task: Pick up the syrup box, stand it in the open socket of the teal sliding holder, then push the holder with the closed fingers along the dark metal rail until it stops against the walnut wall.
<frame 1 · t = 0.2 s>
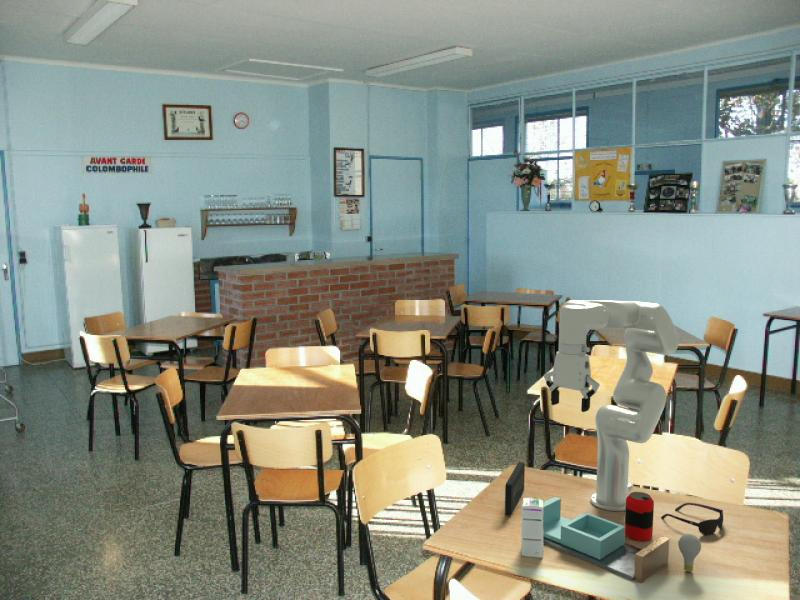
hand: (569, 407, 206), 36 cm above the table, tool pointing down, fingers open, 9 cm apart
syrup box: (532, 552, 197), on the table
soda can: (638, 536, 207), on the table
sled: (577, 525, 203), point 5 cm above the table, slide at 0.0 cm
nameplate: (514, 503, 230), on the table
sunglasses: (692, 524, 215), on the table
light bulb: (688, 572, 187), on the table
rail: (592, 547, 200), on the table
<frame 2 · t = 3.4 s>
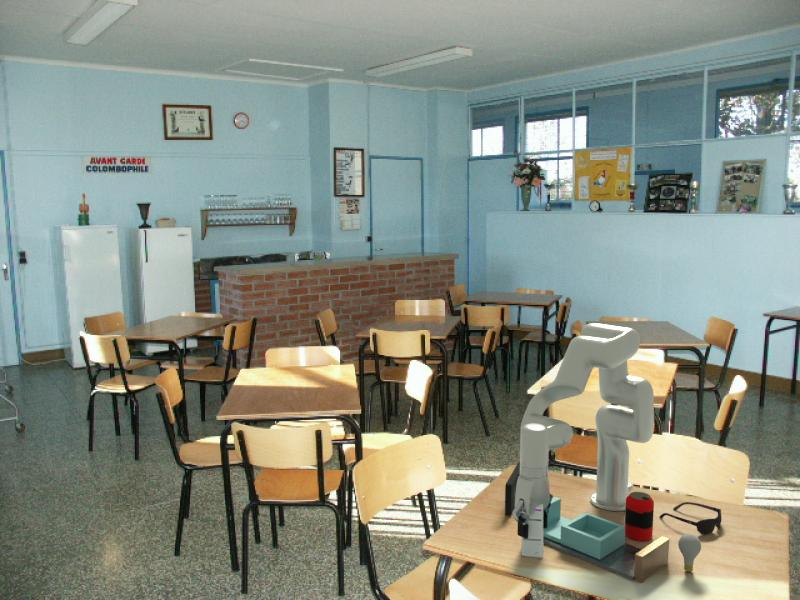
hand: (532, 531, 197), 6 cm above the table, tool pointing down, fingers closed on syrup box, 7 cm apart
syrup box: (532, 552, 197), on the table, touching gripper
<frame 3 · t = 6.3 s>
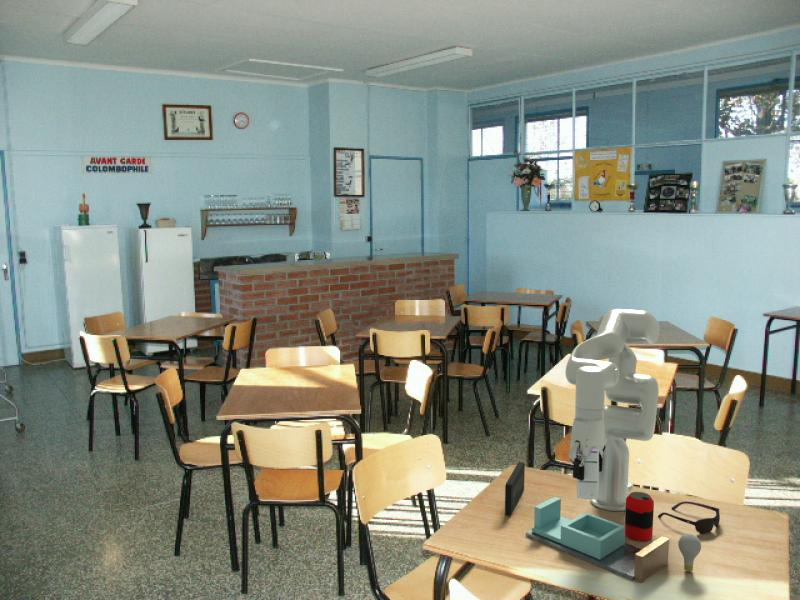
hand: (587, 474, 197), 21 cm above the table, tool pointing down, fingers closed on syrup box, 7 cm apart
syrup box: (587, 495, 198), point 15 cm above the table, touching gripper
when the fingers open (9 cm above the table, at t = 9.5 s): syrup box moves 1 cm, resting on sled.
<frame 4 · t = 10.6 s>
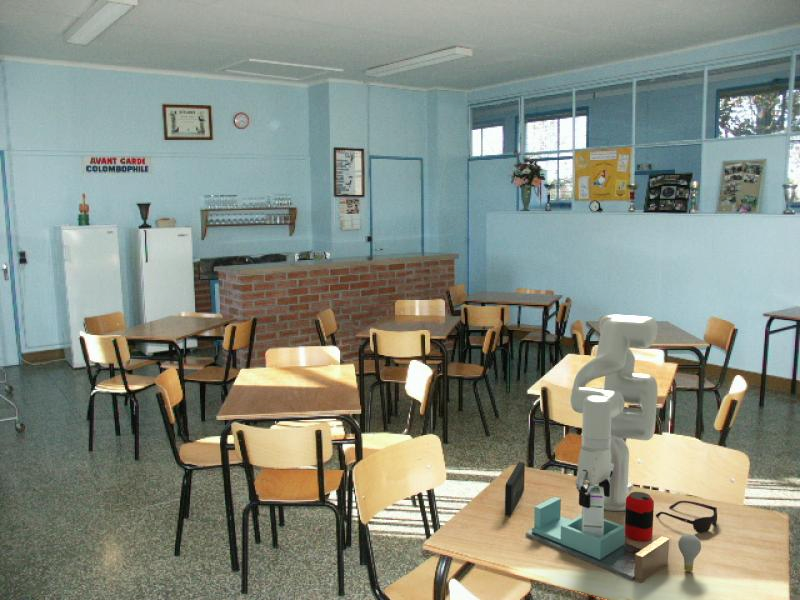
hand: (594, 500, 198), 13 cm above the table, tool pointing down, fingers open, 9 cm apart
syrup box: (591, 540, 199), point 2 cm above the table, touching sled
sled: (577, 525, 203), point 5 cm above the table, slide at 0.0 cm, touching syrup box
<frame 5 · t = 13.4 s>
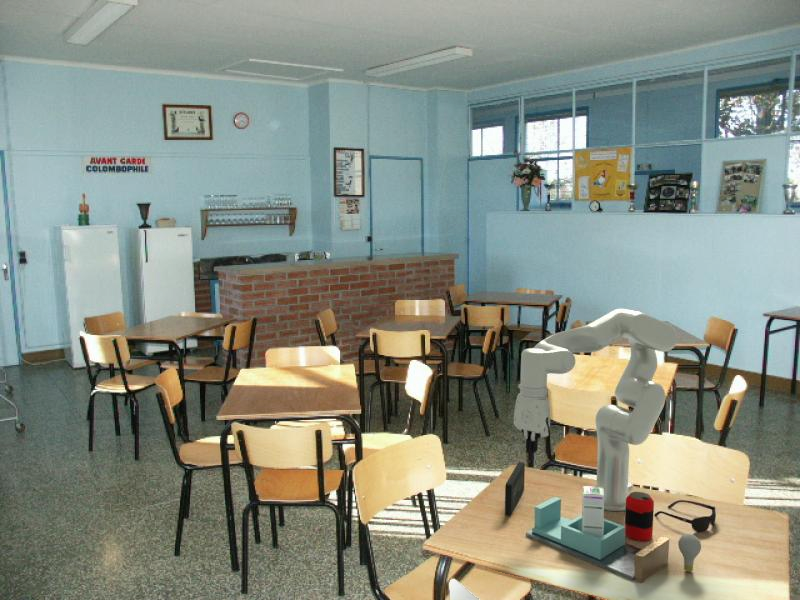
hand: (531, 452, 212), 22 cm above the table, tool pointing down, fingers closed
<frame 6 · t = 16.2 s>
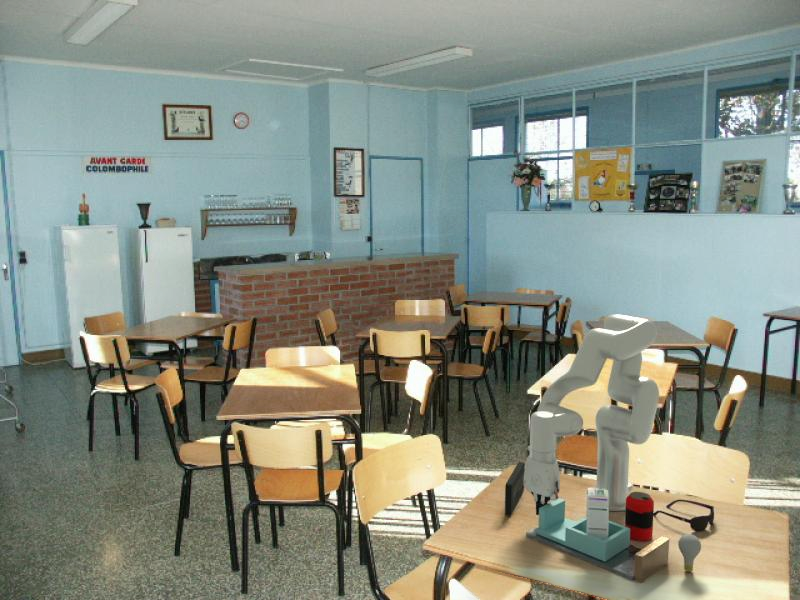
hand: (541, 514, 212), 4 cm above the table, tool pointing down, fingers closed
syrup box: (596, 542, 198), point 2 cm above the table, touching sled
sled: (582, 527, 201), point 5 cm above the table, slide at 1.5 cm, touching gripper, syrup box
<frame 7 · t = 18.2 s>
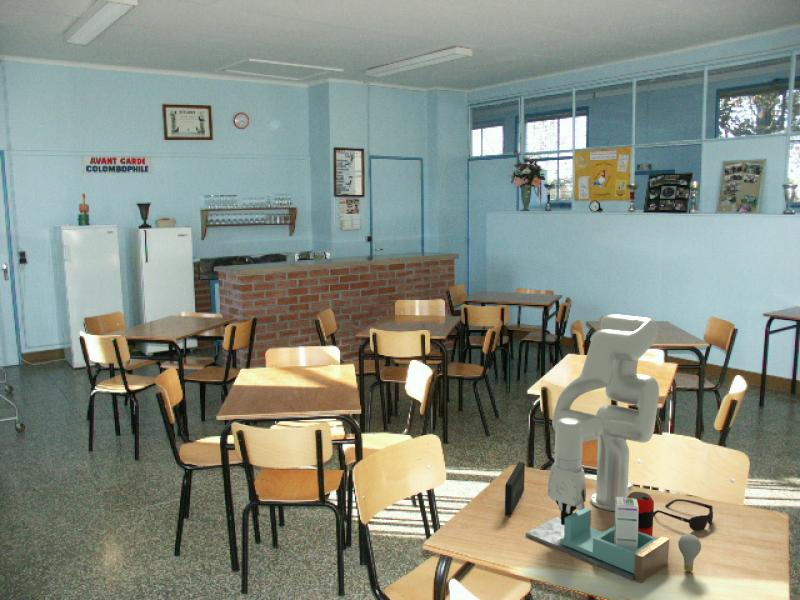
hand: (566, 523, 205), 4 cm above the table, tool pointing down, fingers closed
syrup box: (625, 553, 192), point 2 cm above the table, touching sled
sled: (609, 538, 195), point 5 cm above the table, slide at 10.1 cm, touching gripper, syrup box
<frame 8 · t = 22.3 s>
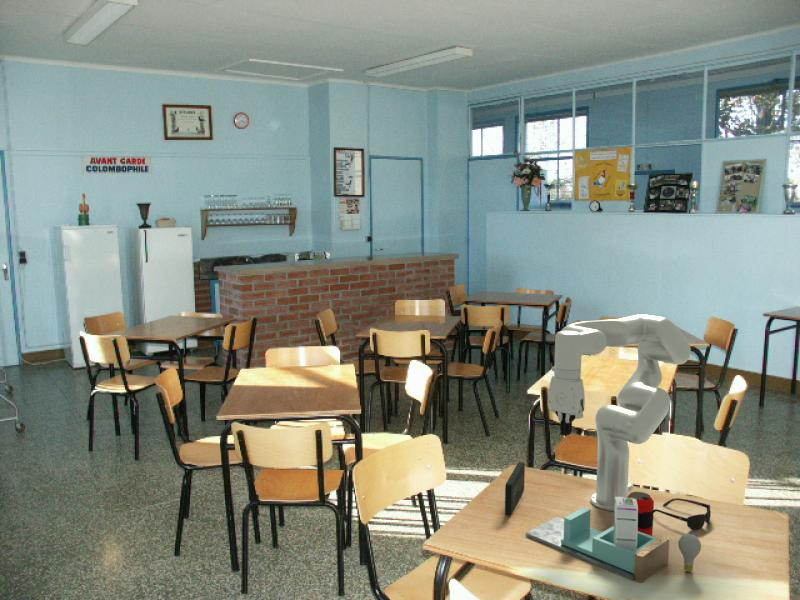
hand: (565, 434, 212), 27 cm above the table, tool pointing down, fingers closed
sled: (609, 537, 195), point 5 cm above the table, slide at 10.0 cm, touching syrup box
at the end: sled slide at 10.0 cm; syrup box 0.3 cm off-centre on the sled, point 2.2 cm above the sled's base; syrup box tilted 0° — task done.
